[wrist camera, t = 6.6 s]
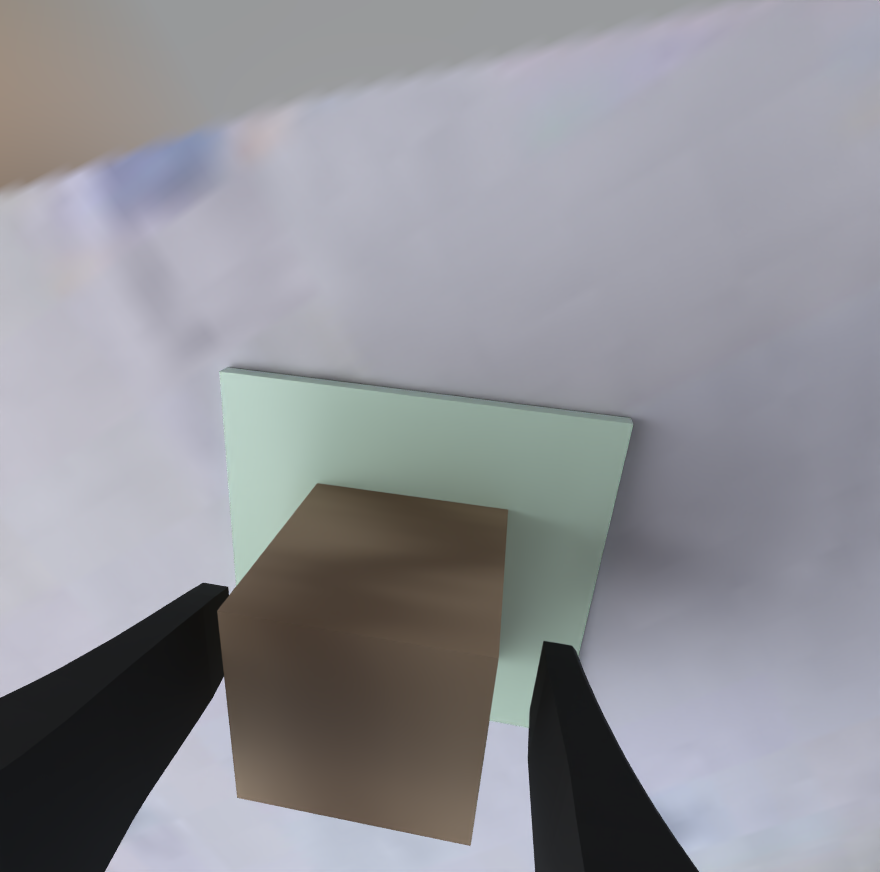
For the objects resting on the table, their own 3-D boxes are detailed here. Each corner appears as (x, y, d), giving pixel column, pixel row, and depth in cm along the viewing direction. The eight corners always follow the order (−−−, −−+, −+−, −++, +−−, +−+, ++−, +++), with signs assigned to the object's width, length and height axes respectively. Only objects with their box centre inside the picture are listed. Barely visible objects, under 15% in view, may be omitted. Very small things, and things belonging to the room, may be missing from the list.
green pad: (630, 418, 13) (633, 424, 12) (558, 722, 17) (559, 733, 16) (227, 367, 14) (219, 371, 13) (249, 664, 18) (243, 674, 17)
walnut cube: (507, 509, 14) (498, 657, 9) (487, 660, 16) (470, 845, 11) (317, 483, 14) (217, 610, 10) (319, 632, 16) (237, 797, 12)
